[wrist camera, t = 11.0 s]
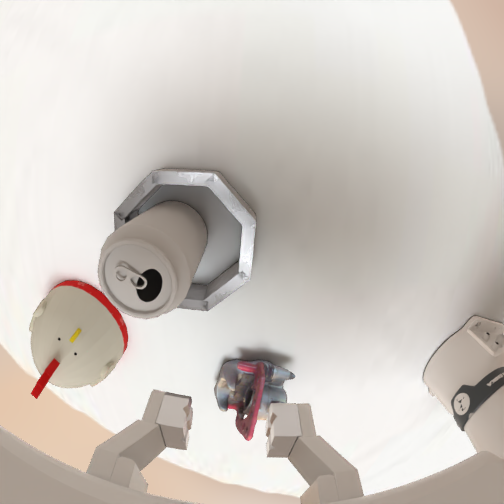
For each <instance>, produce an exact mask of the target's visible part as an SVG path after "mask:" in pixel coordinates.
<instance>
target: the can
mask: <svg viewBox="0 0 504 504" xmlns="http://www.w3.org/2000/svg"><path fill="white" fill-rule="evenodd" d="M206 245H207V230H206V226H205V223H204V221H203V219H202V218H201V216H200V215H199V214H198V212H197V211H195V210H194V209H193V208H191V207H190V206H189V205H187V204H184V203H181V202H178V201H165V202H162V203H159V204H156V205H155V206H153V207H151V208H150V209H148V210H147V211H145V212H143V213H142V214H140V215H138V216H137V217H135V218H134V219H132V220H131V221H129V222H127V223H126V224H124V225H123V226H121V227H120V228H118V229H117V230H116V231H115V232H113V233H112V234H111V235H110V236H109V237H108V238H107V240H106V241H105V243H104V245H103V247H102V249H101V254H100V260H99V265H98V277H99V283H100V286H101V288H102V290H103V292H104V294H105V296H106V297H107V298H108V300H109V301H110V302H111V303H112V305H114V306H115V307H116V308H117V309H119V310H120V311H121V312H123V313H125V314H127V315H130V316H132V317H134V318H142V319H150V318H155V317H159V316H160V315H162V314H166V313H168V312H170V311H172V310H173V309H175V308H177V307H178V306H179V305H180V303H181V302H182V301H183V300H184V299H185V297H186V295H187V293H188V290H189V288H190V285H191V283H192V280H193V278H194V275H195V273H196V270H197V268H198V265H199V263H200V261H201V258H202V256H203V253H204V251H205V248H206Z"/></svg>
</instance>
